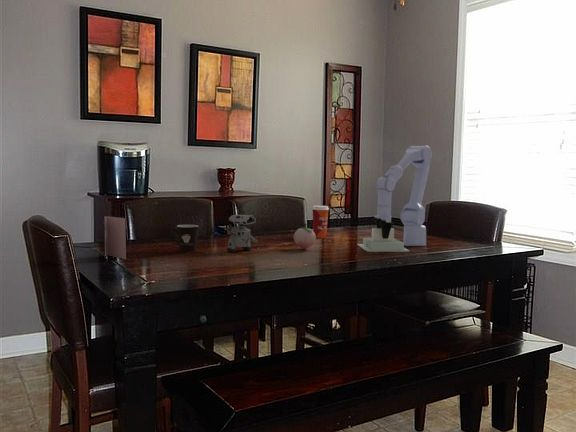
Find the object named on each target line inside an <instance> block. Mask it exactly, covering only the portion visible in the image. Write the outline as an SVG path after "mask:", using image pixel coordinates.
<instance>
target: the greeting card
mask: <svg viewBox="0 0 576 432" xmlns="http://www.w3.org/2000/svg"><path fill="white" fill-rule="evenodd" d="M102 224H103V227H104V257H105V256H106V257H105V259H107V260H108V256H107V255H109V256H113V257H112V258H114V257H117V258H116V259H120V258H122V259H121V260H127V250H126V249H127V247H126V246H127V245H126V230H127V229H126V218H125V217H119V216H118V217H117V216H116V217H115V216H109V215H108V216H107V215H104V220H103V219H102Z"/></svg>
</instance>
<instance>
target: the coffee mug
mask: <svg viewBox="0 0 576 432" xmlns="http://www.w3.org/2000/svg"><path fill="white" fill-rule="evenodd" d="M199 227H200V226H199V225H197V224H178V225H176V228H170V229H169V230H167V236H168V238H169V239H170V240H171V241H173V242H174V243H176V244H177V245H178V247H179V248H178V249H179V252H181V253H194V252H196V251H197V245H198V244H197V243H198V237H199V236H198V235H199V229H200V228H199ZM171 231H174V232H175V233H176V234H177V239H178V241H177V240H175V239H174V238H172V237H171V236H170V232H171Z"/></svg>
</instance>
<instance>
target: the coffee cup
mask: <svg viewBox="0 0 576 432" xmlns="http://www.w3.org/2000/svg"><path fill="white" fill-rule="evenodd" d="M311 209H312V231H313V232H314V233H315V235H316V238H315V239H326V237H327V232H328V231H327V229H328V218H329V210H330V208H329V206H328V205H313V206H312V208H311Z"/></svg>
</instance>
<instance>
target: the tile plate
mask: <svg viewBox="0 0 576 432" xmlns="http://www.w3.org/2000/svg"><path fill="white" fill-rule="evenodd" d="M371 238H372V241H394V238H395V228H392V227H391V230H390V233H389V237H388V239H383V237H382V229H381V228H377V227H372V228H371Z"/></svg>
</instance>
